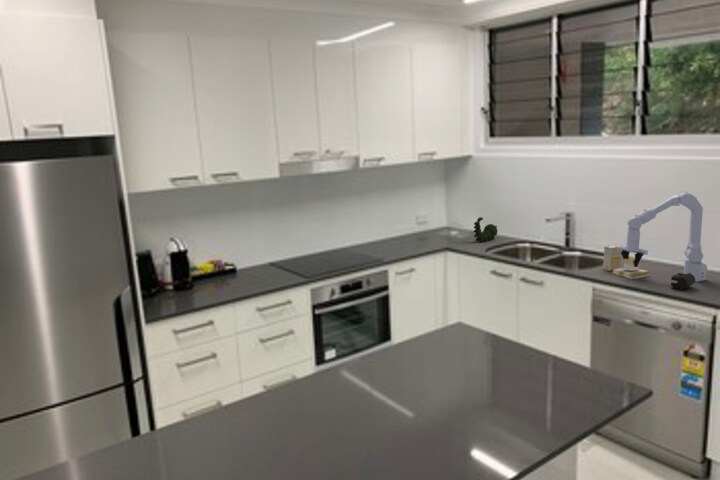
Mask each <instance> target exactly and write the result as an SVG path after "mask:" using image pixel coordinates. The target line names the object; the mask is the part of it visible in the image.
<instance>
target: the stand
mask: <svg viewBox="0 0 720 480" xmlns="http://www.w3.org/2000/svg"><path fill="white" fill-rule="evenodd" d="M612 274H613V275H616V276H619V277H623V278H626V279H631V280H636V279H641V278H647V277H649V276H650V271H649V270H646V269H641V268H638V269H636V270H633V271H630V270H624V269H623V267H621V268H618V269H613V271H612Z"/></svg>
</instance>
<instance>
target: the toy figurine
mask: <svg viewBox="0 0 720 480" xmlns="http://www.w3.org/2000/svg"><path fill="white" fill-rule="evenodd" d="M481 221H484V218H483V217H478V218H477V220H476V221H475V222H473V225H474V226H473V229H475V230H473V232H474V233H475V234H474V235H473V236H474V238H475V241H477V242H485V243H488V241H491V240H494V239H495V236H497V235H498V228H497V227H498V225H494V224H492V223H490V224H486V225H485V226H484V227H483V231H482V228H481V227H482V226H481V223H480V222H481Z"/></svg>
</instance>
